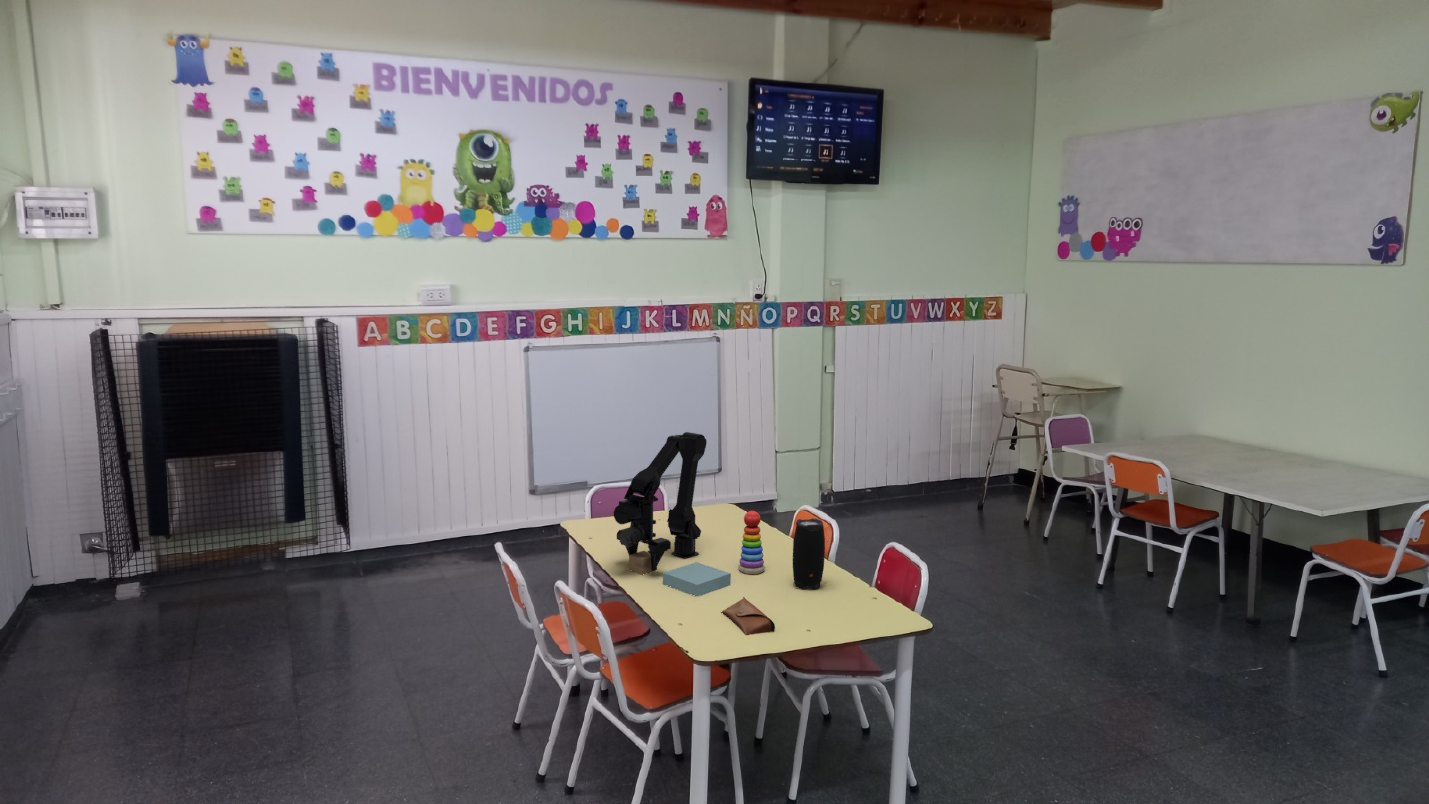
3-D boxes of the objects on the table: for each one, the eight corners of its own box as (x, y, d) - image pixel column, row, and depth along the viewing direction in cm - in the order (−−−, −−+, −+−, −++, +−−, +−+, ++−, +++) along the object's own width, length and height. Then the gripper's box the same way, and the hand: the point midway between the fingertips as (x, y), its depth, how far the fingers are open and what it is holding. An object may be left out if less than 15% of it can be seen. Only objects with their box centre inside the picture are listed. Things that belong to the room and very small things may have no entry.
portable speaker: (820, 592, 274) (822, 527, 271) (788, 588, 276) (790, 523, 273) (825, 582, 282) (828, 519, 279) (794, 579, 285) (796, 516, 281)
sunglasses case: (717, 611, 258) (729, 589, 258) (737, 620, 261) (749, 599, 261) (746, 636, 242) (758, 612, 242) (766, 646, 245) (779, 623, 245)
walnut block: (643, 566, 294) (643, 550, 293) (657, 571, 290) (657, 555, 289) (629, 570, 289) (629, 554, 289) (642, 575, 285) (642, 559, 285)
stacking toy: (768, 569, 293) (770, 510, 290) (758, 576, 286) (760, 516, 283) (744, 565, 296) (746, 506, 293) (734, 572, 289) (736, 513, 286)
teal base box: (696, 574, 288) (696, 562, 287) (730, 586, 278) (730, 573, 278) (662, 585, 278) (663, 572, 277) (697, 598, 268) (697, 584, 268)
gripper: (603, 516, 287) (602, 565, 290) (644, 529, 275) (644, 580, 277) (630, 509, 295) (630, 557, 298) (672, 521, 283) (671, 572, 285)
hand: (643, 566), depth 289 cm, fingers open, 9 cm apart
